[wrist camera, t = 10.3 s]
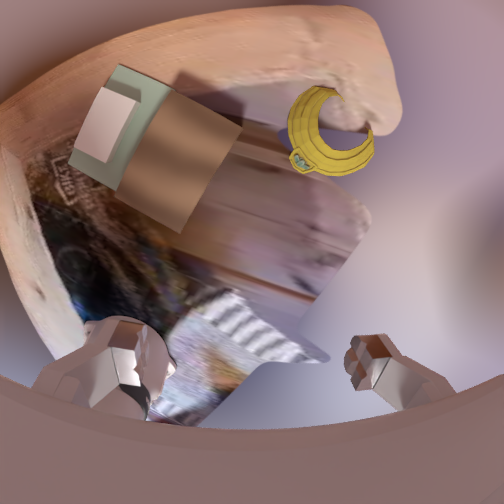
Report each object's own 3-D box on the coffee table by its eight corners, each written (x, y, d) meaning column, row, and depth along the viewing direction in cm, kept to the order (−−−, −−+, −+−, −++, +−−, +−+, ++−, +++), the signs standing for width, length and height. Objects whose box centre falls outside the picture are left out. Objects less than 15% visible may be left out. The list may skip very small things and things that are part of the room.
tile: (73, 146, 30) (79, 146, 31) (105, 163, 31) (111, 162, 33) (101, 86, 27) (107, 88, 29) (136, 101, 29) (140, 103, 31)
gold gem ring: (286, 173, 37) (293, 177, 33) (285, 84, 32) (292, 77, 28) (369, 176, 38) (383, 180, 34) (369, 94, 33) (383, 90, 29)
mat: (119, 192, 35) (119, 193, 35) (68, 163, 32) (67, 163, 32) (176, 90, 31) (175, 90, 30) (119, 64, 28) (118, 64, 28)
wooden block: (184, 224, 38) (179, 233, 34) (124, 191, 35) (113, 196, 31) (241, 130, 34) (243, 128, 30) (177, 95, 31) (171, 89, 27)
